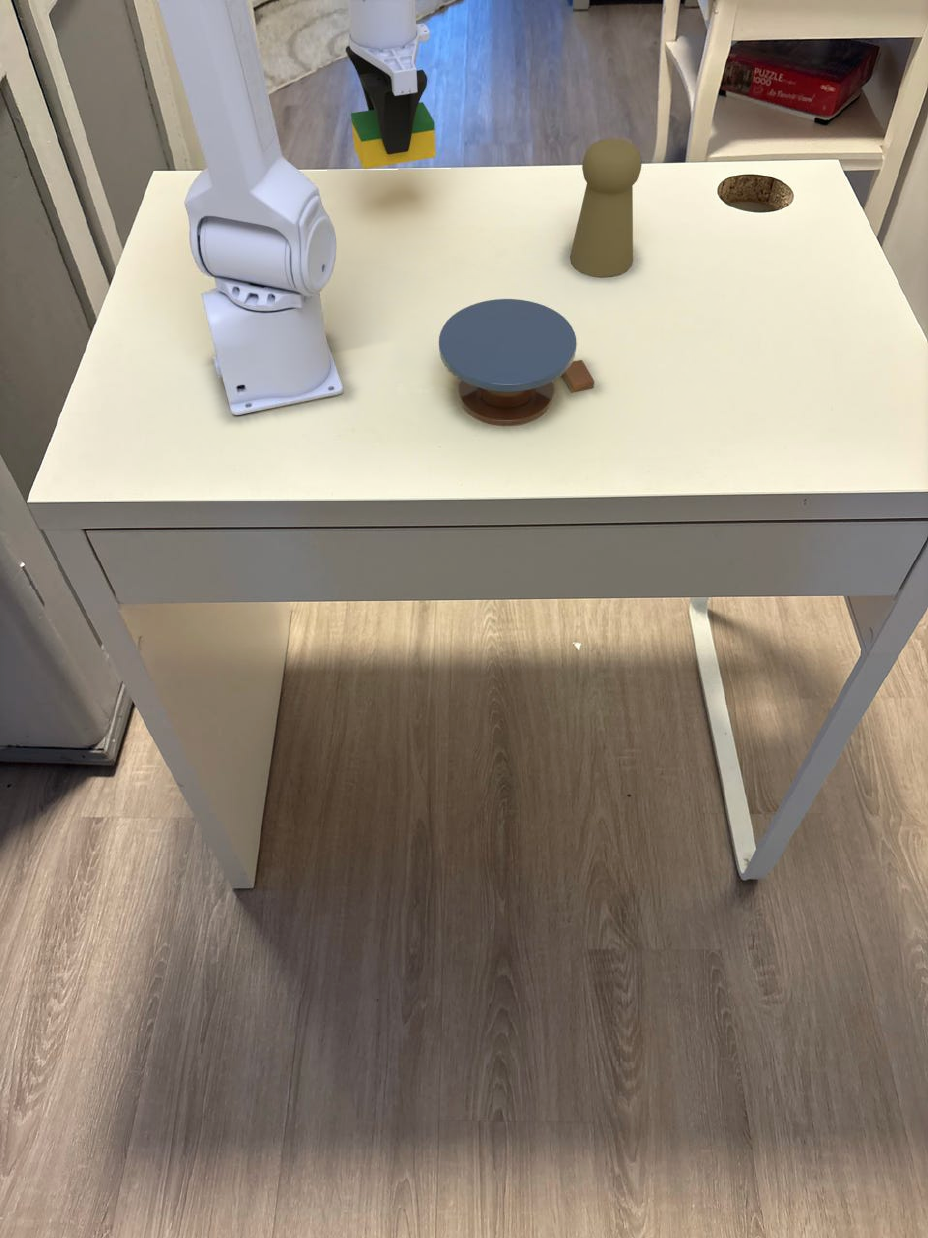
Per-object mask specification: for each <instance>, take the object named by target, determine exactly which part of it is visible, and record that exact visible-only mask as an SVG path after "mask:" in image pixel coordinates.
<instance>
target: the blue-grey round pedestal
mask: <svg viewBox="0 0 928 1238" xmlns="http://www.w3.org/2000/svg"><path fill="white" fill-rule="evenodd" d="M577 345H578V343H577V335H576V332H575V330H574V328H573V326H572V325H571V323H570V322H569V321H568V320H567V319H566V318H565V317H564V316H563V315H562V314H561V313H559V312H557V311H556V310H554V309H552V308H550V307H549V306H546V305H543V304H541V303H538V302H534V301H530V300H524V299H517V298H496V299H489V300H485V301H480V302H476V303H473V304H470V305H468V306H466V307H464V308H462V309H460V310H458V311H457V312H456V313H454V314H453V315H452V316H450V317H449V319H448V320H446V321H445V323H444V325H443V326H442V328H441V329H440V333H439V335H438V351H439V352H438V353H439V357H440V359H441V361H442V364H443V365H444V366H445V367H446V369H447V370H448V371H449V372H450V373H451V374H452V375H453V376H455V377H456V378H458V379H459V380H460V381H459V383H458V400H459V402H460V405H461V407H462V408H463V409H464V411H465V412H467V413H468V414H469V415H470V416H471V417H472V418H474V419H476V420H478V421H480V422H483V423H486V424H489V425H493V426H501V427H511V426H512V427H513V426H520V425H524V424H528V423H531V422H532V421H535V420H537V419H539V418H541V417H542V416H543V415H544V414H546V413H547V411H548V410H549V409H550V407H551V406H552V404H553V401H554V397H555V385H554V383H553V382H554V381H555V380H557V379H558V378H560V377H561V376H562V374H563V373H565V372H566V370H567V369H568V368H569V367H570V365H571V364H572V362H573V361H575V357H576V354H577Z"/></svg>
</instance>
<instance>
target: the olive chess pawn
mask: <svg viewBox="0 0 928 1238" xmlns="http://www.w3.org/2000/svg"><path fill="white" fill-rule="evenodd" d="M581 165H582V166H581V169H582V175H583V179H584V180H585V182H586V186H585V190H584V194H583V199H582V203H581V207H580V211H579V216H578V221H577V225H576V229H575V234H574V237H573V243H572V246H571V250H570V255H569V259H570V264H571V265H572V267H573V268H575V270H577V271H578V272H580V273H582V274H584V275H587V276H590V277H597V278H611V277H612V278H613V277H615V276H619V275H622V274H624V273H626V272H628V270H629V269H630V268H631V267H632V265H633V262H634V199H633V198H634V194H633V193H634V191H633V190H634V188H633V186H634V185H635V184H636V182H638V179H639V177H640V174H641V170H642V165H643V163H642V156H641V154H640V151H639V149H638V148H637V146H636V145H635V144H633V143H632V142H630V141H627V140H625V139H622V138H616V137H612V138H611V137H610V138H609V137H608V138H603V139H600V140H597V141H595V142H593V143H592V144H590V145H589V147H588V148H587V150H586V151H585V153H584V155H583V159H582V164H581Z"/></svg>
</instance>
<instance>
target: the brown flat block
mask: <svg viewBox="0 0 928 1238" xmlns="http://www.w3.org/2000/svg"><path fill="white" fill-rule="evenodd" d="M561 376H562V378H563V379H564V382H565V384H566V385H567V387H568V389H569V391H570V392H571V393H572V394H573V393H578V392H583V391H588V390H592V389H594V387H595V379H594V378H593V376H592V374H591V373H590V371H589V369H588V367H587V366H586V364H585V363H584V360H583V359H579V360H573V362H572V364H571V365H570V367H569V368H568V369H567V370H566V372H565V373H563V374H562V375H561Z"/></svg>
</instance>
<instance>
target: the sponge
mask: <svg viewBox="0 0 928 1238" xmlns="http://www.w3.org/2000/svg"><path fill="white" fill-rule="evenodd" d="M350 119H351V120H350V121H351V130H352V139H353V148H354V152H355V153H356V156H357V159H358V160H359V162H360V164H361V166H362V168H363V170H369V169H374V168H381V167H386V166H393V165H399V164H405V163H411V162H416V161H423V160H429V159H434V158H436V157H437V156H436V155H437V152H436V129H435V127H436V126H435V120H434V118H433V116H432V115H431V113H430V112H429V110H428V108H427V107H426V104H425V103H424V102H423V101H421V102H420V101H419V103H418V106H417V110H416V113H415V118H414V123H413V129H412V136H411V141H410V146H409V150H408V151H407V152H401V153H395V154H387V152H386V150H385V148H384V145H383V142H382V138H381V134H380V129H379V125H378V120H377V116H376V112H375V110H369V111H368V110H363V111H357V112H351V113H350Z"/></svg>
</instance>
